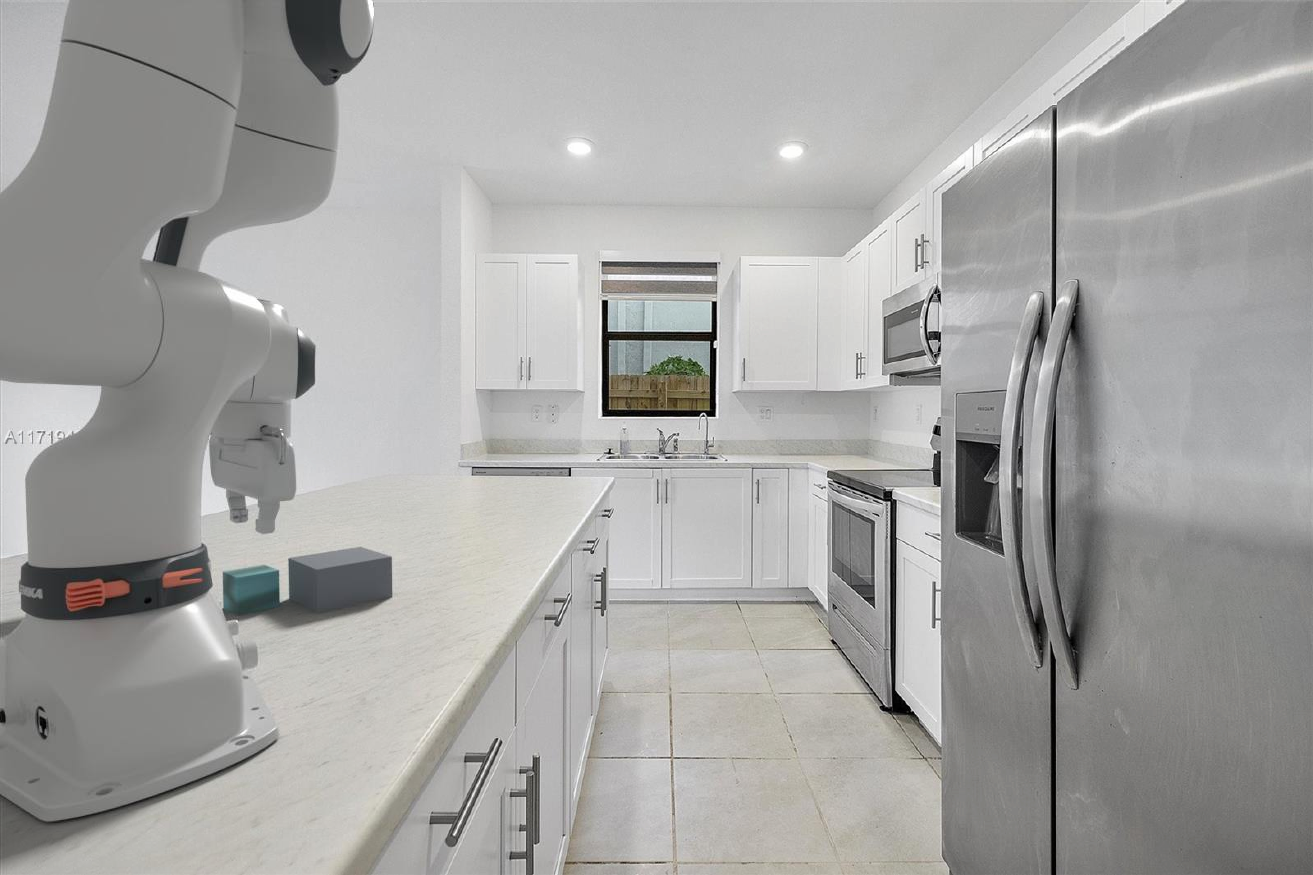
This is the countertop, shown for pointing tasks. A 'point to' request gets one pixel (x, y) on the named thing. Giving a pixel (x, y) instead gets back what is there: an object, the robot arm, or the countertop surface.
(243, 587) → the teal block
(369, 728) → the countertop surface
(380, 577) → the charcoal block
